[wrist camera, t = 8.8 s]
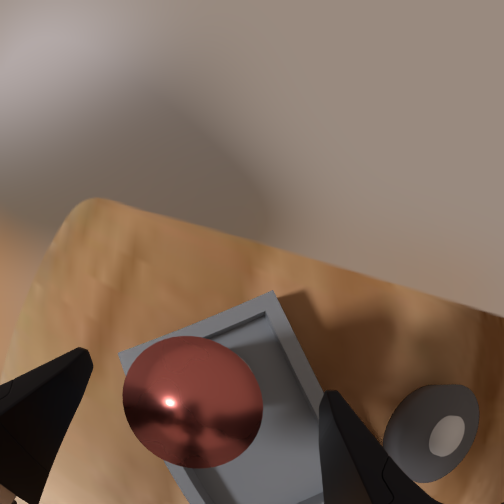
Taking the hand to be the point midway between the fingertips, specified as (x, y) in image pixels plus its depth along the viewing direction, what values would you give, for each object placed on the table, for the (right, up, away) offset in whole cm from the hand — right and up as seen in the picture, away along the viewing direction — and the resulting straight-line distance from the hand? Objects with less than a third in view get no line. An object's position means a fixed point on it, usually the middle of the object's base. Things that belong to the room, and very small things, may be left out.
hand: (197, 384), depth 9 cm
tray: (+2, -8, +7) cm, 11 cm away
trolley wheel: (+16, -10, +6) cm, 20 cm away
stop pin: (0, -4, +8) cm, 9 cm away
